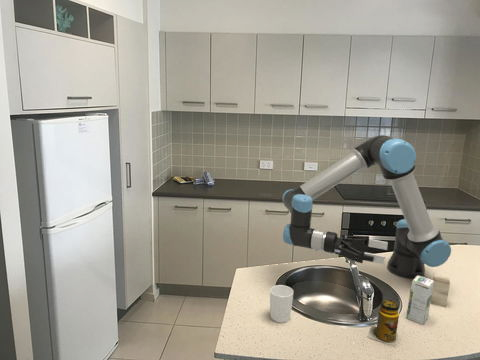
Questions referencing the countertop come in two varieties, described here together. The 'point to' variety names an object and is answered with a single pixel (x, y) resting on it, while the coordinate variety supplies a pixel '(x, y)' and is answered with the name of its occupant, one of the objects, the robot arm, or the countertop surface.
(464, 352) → the countertop surface
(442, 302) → the beige block
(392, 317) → the condiment
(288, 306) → the white cup
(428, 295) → the syrup box
